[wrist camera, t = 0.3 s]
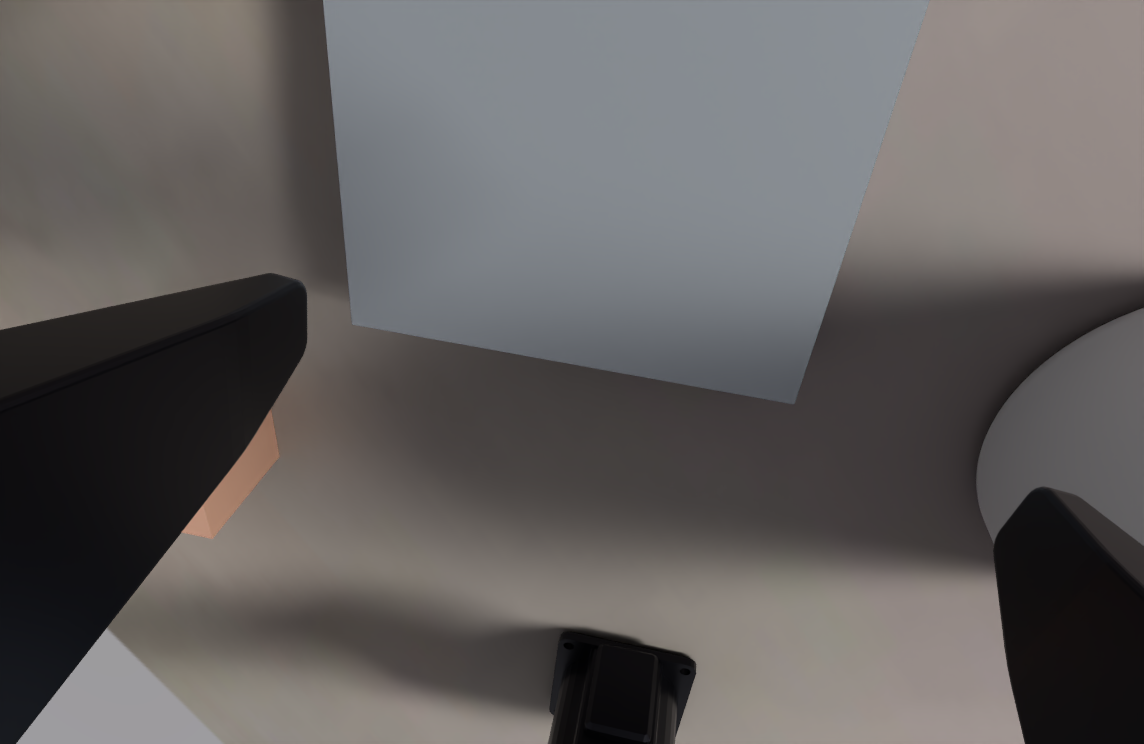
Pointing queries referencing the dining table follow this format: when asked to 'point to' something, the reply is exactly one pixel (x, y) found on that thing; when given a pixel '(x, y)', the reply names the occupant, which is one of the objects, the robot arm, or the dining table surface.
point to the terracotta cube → (237, 482)
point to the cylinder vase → (1074, 430)
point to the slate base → (611, 174)
